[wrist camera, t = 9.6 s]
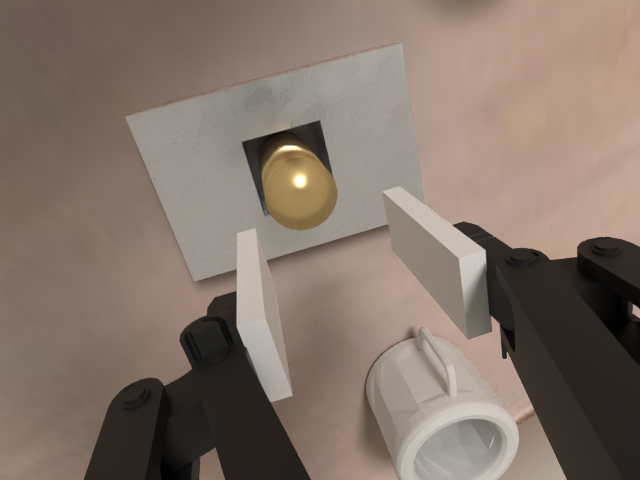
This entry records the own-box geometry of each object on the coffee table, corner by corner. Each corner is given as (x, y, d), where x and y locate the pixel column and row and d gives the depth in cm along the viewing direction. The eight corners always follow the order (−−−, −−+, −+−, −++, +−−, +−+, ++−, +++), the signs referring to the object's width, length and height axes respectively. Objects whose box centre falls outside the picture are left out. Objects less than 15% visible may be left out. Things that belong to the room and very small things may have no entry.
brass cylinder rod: (252, 141, 31) (255, 171, 22) (304, 127, 32) (328, 150, 22) (267, 191, 33) (276, 238, 24) (316, 177, 33) (344, 218, 24)
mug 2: (463, 404, 46) (518, 487, 37) (368, 427, 45) (401, 519, 36) (464, 299, 41) (529, 365, 32) (357, 322, 40) (392, 398, 31)
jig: (138, 110, 30) (124, 116, 26) (382, 45, 31) (401, 42, 27) (199, 258, 34) (194, 281, 31) (407, 197, 36) (426, 212, 32)
